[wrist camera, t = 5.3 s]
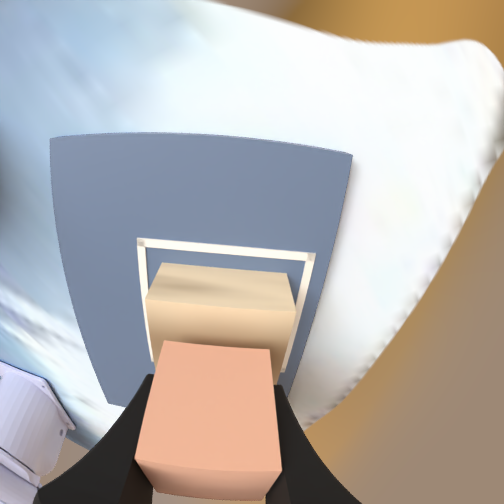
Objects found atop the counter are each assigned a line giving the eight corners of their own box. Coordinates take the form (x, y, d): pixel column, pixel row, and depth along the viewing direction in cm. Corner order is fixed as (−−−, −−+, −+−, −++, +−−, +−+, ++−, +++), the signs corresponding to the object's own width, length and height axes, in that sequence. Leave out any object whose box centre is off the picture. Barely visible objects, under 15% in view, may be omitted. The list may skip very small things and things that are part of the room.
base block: (268, 358, 17) (272, 398, 14) (168, 350, 16) (159, 388, 13) (286, 273, 14) (296, 311, 11) (162, 262, 13) (145, 298, 11)
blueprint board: (277, 414, 21) (278, 423, 20) (110, 396, 20) (107, 404, 19) (346, 152, 12) (353, 155, 11) (58, 136, 11) (48, 139, 10)
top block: (256, 405, 12) (261, 500, 8) (172, 398, 12) (156, 492, 8) (269, 349, 11) (282, 470, 6) (163, 340, 10) (134, 458, 6)
